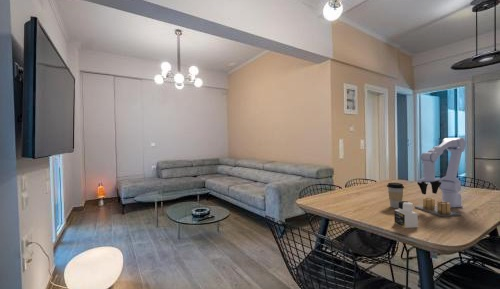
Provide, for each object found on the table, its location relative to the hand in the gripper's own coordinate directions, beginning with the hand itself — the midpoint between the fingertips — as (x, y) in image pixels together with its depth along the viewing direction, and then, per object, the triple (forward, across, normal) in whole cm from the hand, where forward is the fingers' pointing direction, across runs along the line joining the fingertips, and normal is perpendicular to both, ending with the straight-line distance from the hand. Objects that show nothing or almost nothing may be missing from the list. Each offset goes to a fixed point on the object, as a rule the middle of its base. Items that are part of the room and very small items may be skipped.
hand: (429, 193), depth 142 cm
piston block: (+10, 0, +4) cm, 11 cm away
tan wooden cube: (+9, 0, 0) cm, 9 cm away
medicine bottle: (+10, +35, +20) cm, 41 cm away
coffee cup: (+10, +16, -8) cm, 21 cm away
